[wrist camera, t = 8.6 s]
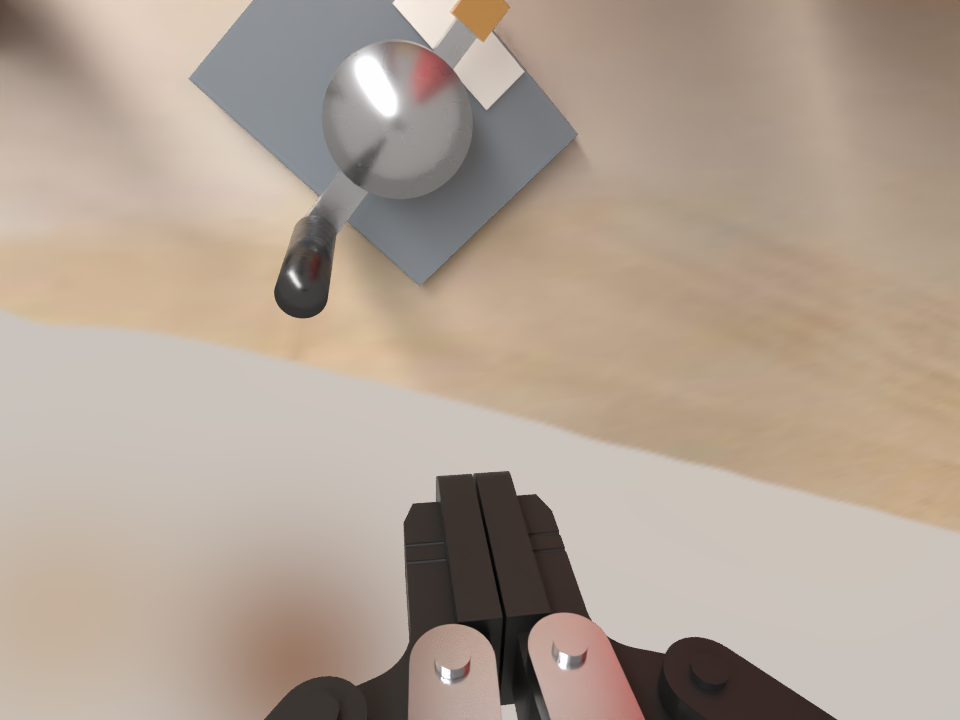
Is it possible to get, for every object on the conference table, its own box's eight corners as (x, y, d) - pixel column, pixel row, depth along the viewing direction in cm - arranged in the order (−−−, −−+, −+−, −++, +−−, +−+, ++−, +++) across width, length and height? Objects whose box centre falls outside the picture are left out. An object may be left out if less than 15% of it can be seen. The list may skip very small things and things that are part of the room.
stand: (361, -125, 27) (361, -142, 24) (570, 128, 33) (591, 142, 30) (196, 75, 30) (175, 84, 26) (417, 275, 36) (422, 303, 33)
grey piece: (542, 44, 27) (600, 61, 20) (360, 277, 31) (358, 357, 24) (429, -67, 25) (453, -91, 18) (246, 200, 29) (208, 265, 22)
